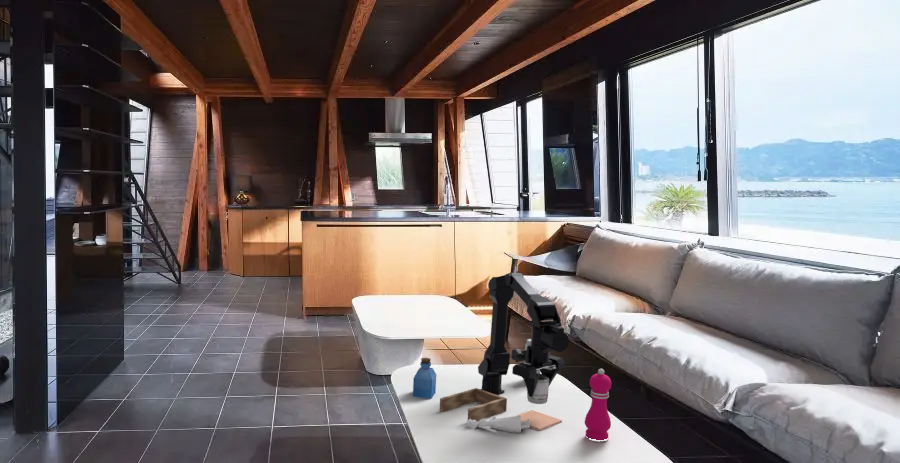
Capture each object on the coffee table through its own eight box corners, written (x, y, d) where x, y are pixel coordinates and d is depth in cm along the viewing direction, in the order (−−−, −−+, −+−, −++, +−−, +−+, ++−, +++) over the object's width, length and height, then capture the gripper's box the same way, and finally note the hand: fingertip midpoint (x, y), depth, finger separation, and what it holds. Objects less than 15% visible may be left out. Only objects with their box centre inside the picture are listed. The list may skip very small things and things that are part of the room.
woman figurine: (530, 423, 181) (465, 423, 182) (530, 439, 181) (466, 439, 182) (528, 409, 192) (467, 409, 193) (528, 424, 193) (467, 423, 194)
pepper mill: (580, 432, 187) (585, 364, 186) (605, 433, 188) (609, 365, 186) (588, 443, 180) (592, 372, 178) (613, 443, 181) (618, 372, 179)
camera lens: (548, 399, 197) (550, 373, 196) (546, 405, 191) (548, 379, 190) (527, 396, 198) (529, 371, 198) (525, 403, 192) (526, 377, 191)
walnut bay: (475, 400, 211) (476, 388, 211) (506, 411, 202) (507, 398, 202) (439, 411, 199) (440, 398, 199) (470, 423, 190) (471, 410, 190)
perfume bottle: (431, 398, 210) (433, 362, 209) (412, 396, 211) (414, 360, 211) (435, 393, 216) (437, 357, 215) (417, 390, 217) (419, 355, 217)
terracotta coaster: (532, 411, 203) (532, 410, 202) (561, 422, 195) (561, 420, 195) (510, 419, 195) (510, 418, 195) (539, 430, 187) (540, 428, 187)
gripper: (537, 333, 205) (534, 381, 207) (499, 342, 192) (496, 393, 193) (567, 340, 198) (563, 390, 199) (529, 350, 184) (526, 403, 185)
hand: (537, 394), depth 194 cm, fingers closed on camera lens, 6 cm apart
